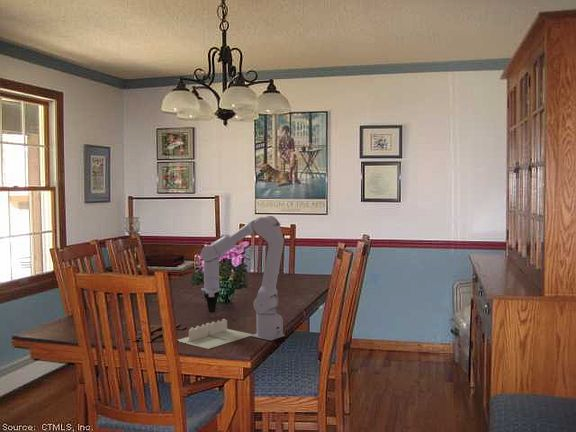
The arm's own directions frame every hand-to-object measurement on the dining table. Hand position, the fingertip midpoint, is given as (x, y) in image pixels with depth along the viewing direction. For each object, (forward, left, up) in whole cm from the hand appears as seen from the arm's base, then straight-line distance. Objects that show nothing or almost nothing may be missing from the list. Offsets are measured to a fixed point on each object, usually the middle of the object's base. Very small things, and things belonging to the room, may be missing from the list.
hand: (212, 312), depth 220 cm
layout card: (-8, +6, -7) cm, 12 cm away
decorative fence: (+15, +15, -8) cm, 23 cm away
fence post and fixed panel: (-4, +10, -7) cm, 13 cm away
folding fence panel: (-4, +1, -7) cm, 8 cm away
